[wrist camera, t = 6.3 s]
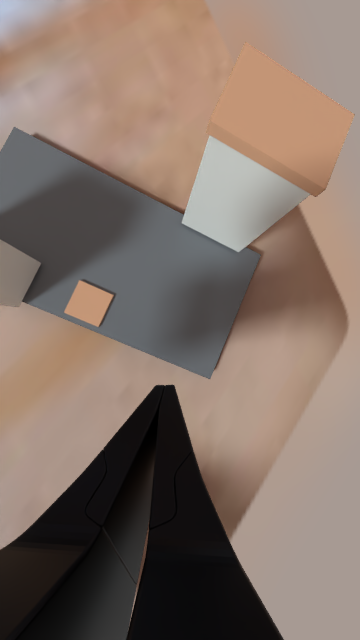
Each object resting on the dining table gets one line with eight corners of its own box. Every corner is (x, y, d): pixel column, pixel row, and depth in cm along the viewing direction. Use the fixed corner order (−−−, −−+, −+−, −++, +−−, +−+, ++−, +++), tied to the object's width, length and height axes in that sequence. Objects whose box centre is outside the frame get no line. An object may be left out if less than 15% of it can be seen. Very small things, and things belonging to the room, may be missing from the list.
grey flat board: (206, 376, 20) (210, 380, 19) (-49, 270, 17) (-67, 265, 16) (254, 258, 21) (262, 253, 20) (22, 139, 18) (11, 123, 17)
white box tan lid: (239, 255, 20) (325, 189, 10) (178, 224, 19) (209, 120, 9) (256, 214, 20) (354, 114, 10) (197, 182, 19) (245, 42, 10)
